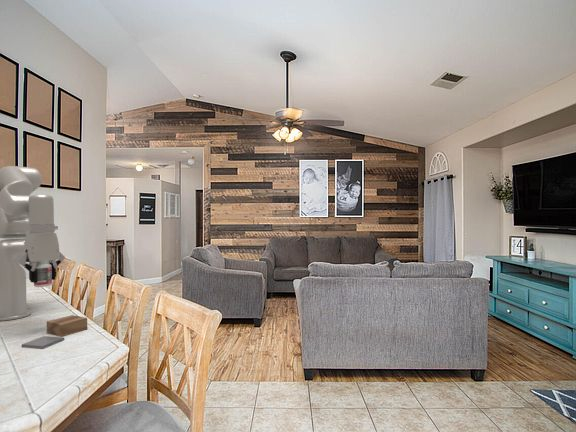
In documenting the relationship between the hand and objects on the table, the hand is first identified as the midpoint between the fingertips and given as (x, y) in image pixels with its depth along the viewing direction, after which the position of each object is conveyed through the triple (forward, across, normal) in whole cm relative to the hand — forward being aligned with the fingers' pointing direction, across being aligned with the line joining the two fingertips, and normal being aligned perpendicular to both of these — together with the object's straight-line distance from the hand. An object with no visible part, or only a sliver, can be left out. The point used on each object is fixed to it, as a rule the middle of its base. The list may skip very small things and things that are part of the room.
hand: (43, 280), depth 131 cm
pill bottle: (+2, 0, 0) cm, 2 cm away
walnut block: (+18, -4, +8) cm, 20 cm away
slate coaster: (+18, +7, +14) cm, 24 cm away
